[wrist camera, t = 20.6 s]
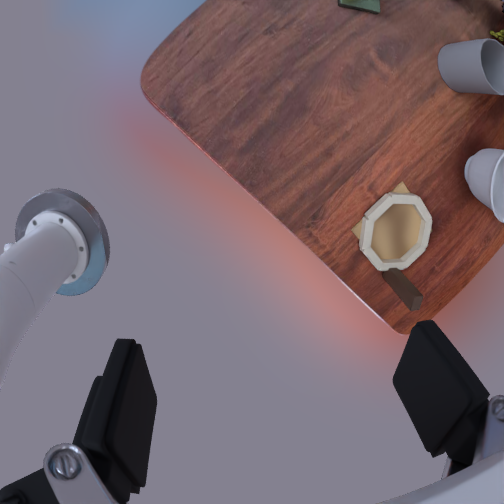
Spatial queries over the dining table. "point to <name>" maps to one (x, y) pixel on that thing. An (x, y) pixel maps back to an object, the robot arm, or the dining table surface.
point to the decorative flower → (502, 32)
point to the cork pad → (394, 229)
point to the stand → (362, 5)
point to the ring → (393, 266)
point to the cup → (473, 66)
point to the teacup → (487, 179)
